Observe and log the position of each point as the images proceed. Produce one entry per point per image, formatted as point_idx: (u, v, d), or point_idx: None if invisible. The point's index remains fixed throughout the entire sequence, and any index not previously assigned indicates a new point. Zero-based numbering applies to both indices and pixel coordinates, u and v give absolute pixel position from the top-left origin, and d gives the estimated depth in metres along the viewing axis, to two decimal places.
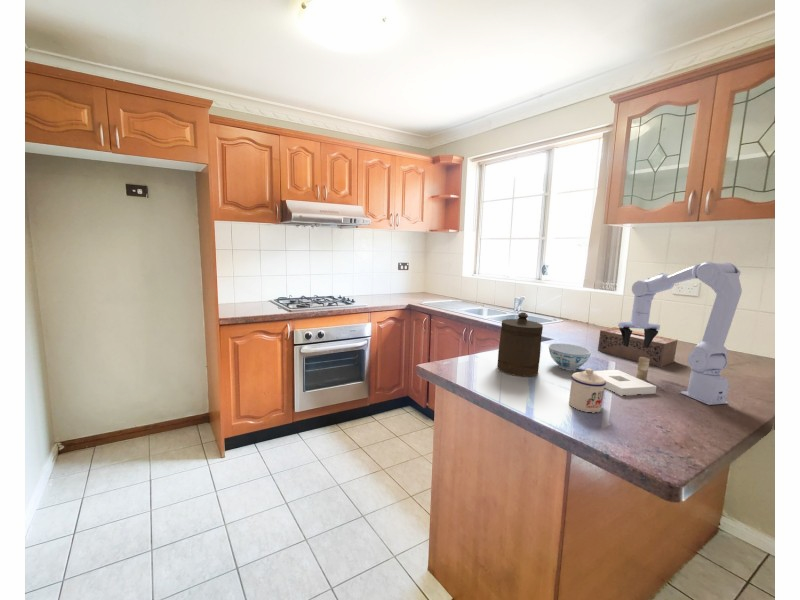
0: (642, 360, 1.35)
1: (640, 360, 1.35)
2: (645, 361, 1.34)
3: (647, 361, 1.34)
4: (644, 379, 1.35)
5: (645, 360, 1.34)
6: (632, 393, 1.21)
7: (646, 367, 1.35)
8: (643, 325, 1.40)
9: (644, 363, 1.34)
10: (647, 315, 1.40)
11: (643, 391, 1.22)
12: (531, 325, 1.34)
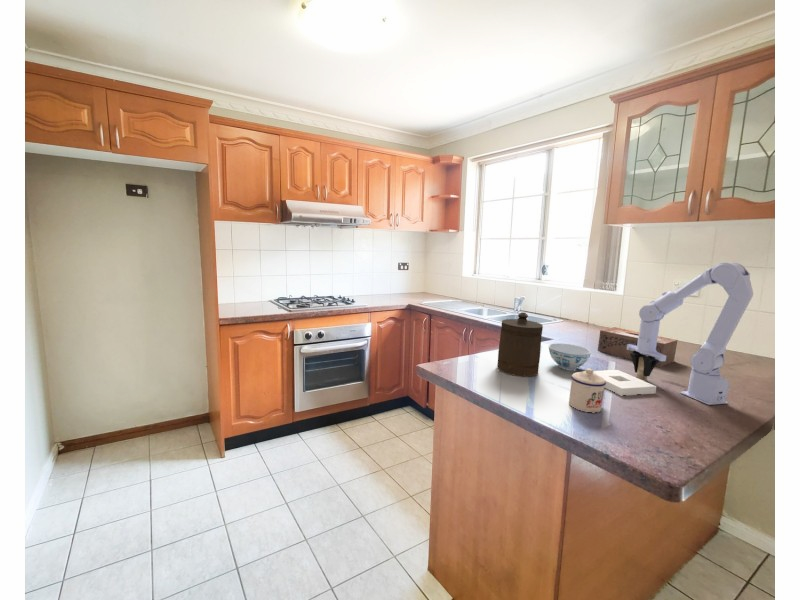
0: (642, 360, 1.35)
1: (640, 360, 1.35)
2: None
3: None
4: (644, 379, 1.35)
5: None
6: (632, 393, 1.21)
7: None
8: (638, 350, 1.35)
9: None
10: (643, 340, 1.33)
11: (643, 391, 1.22)
12: (531, 325, 1.34)
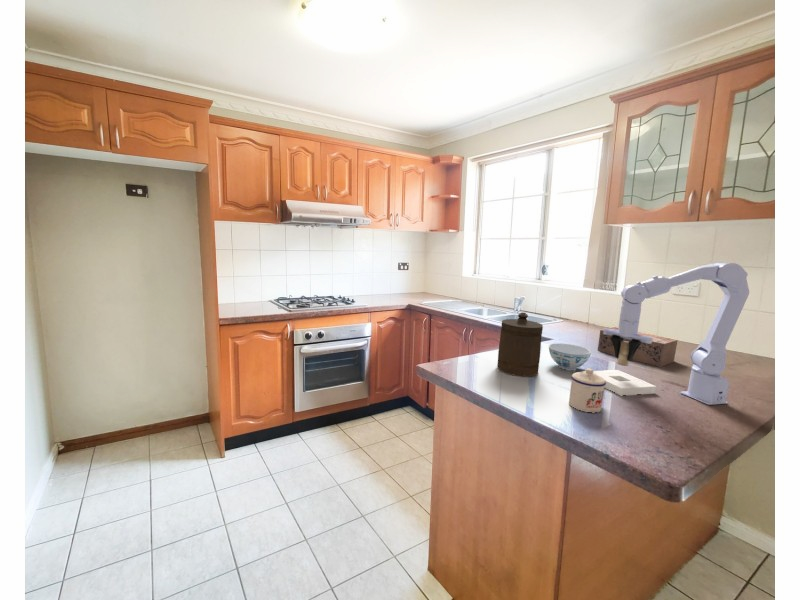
0: (626, 344, 1.26)
1: (624, 344, 1.27)
2: None
3: None
4: (627, 364, 1.28)
5: None
6: (632, 393, 1.21)
7: None
8: (623, 334, 1.25)
9: (628, 347, 1.26)
10: (629, 323, 1.24)
11: (643, 391, 1.22)
12: (531, 325, 1.34)
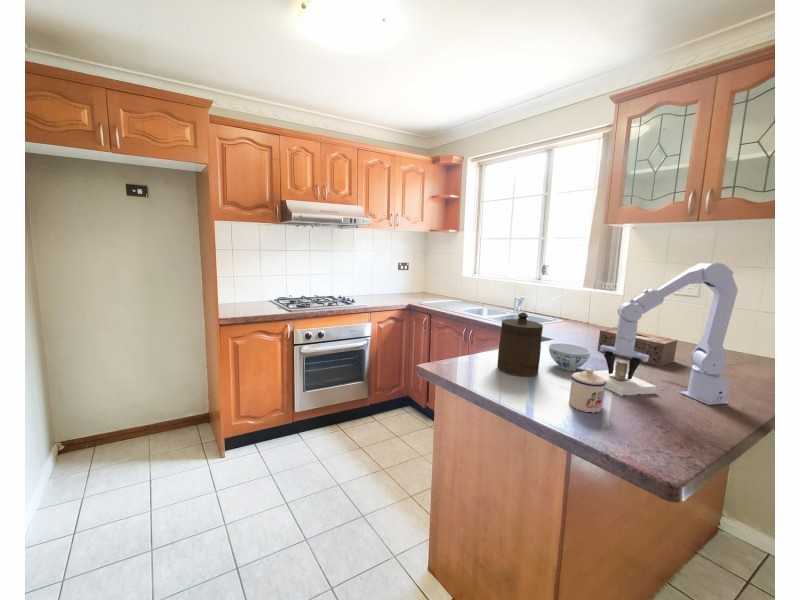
0: (622, 365, 1.27)
1: (620, 365, 1.27)
2: (625, 366, 1.27)
3: (626, 365, 1.27)
4: None
5: (625, 364, 1.27)
6: (632, 393, 1.21)
7: (625, 372, 1.28)
8: (620, 352, 1.26)
9: (624, 368, 1.27)
10: (625, 341, 1.25)
11: (643, 391, 1.22)
12: (531, 325, 1.34)
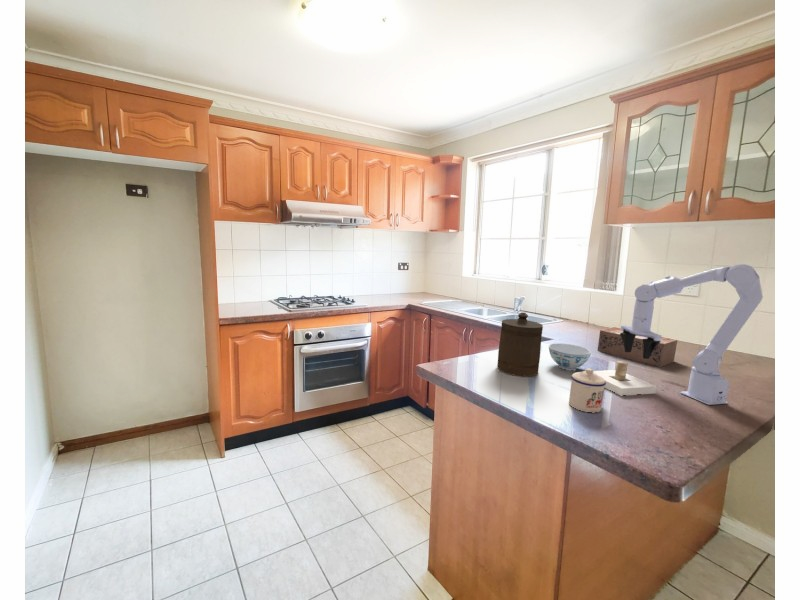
0: (622, 365, 1.27)
1: (620, 365, 1.27)
2: (625, 366, 1.27)
3: (626, 365, 1.27)
4: None
5: (625, 365, 1.27)
6: (632, 393, 1.21)
7: (625, 372, 1.27)
8: (633, 330, 1.32)
9: (624, 368, 1.27)
10: (638, 320, 1.31)
11: (643, 391, 1.22)
12: (531, 325, 1.34)
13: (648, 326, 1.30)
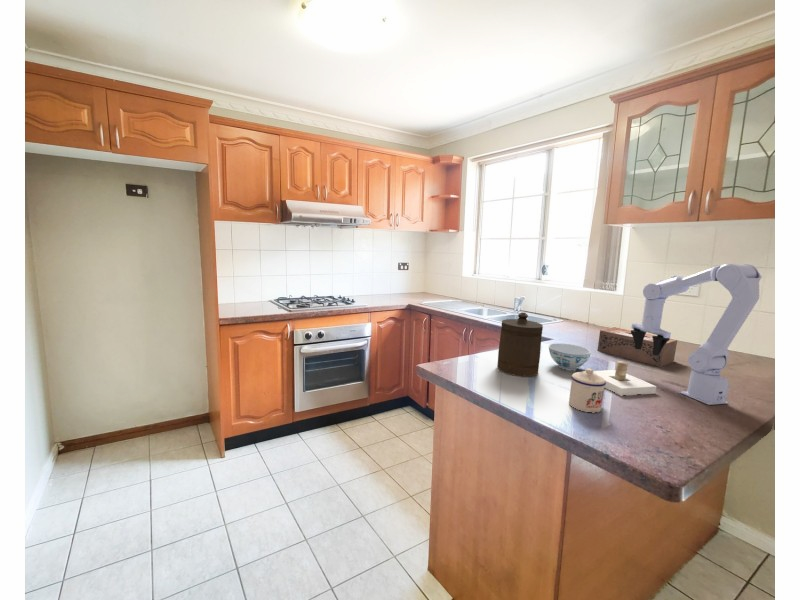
0: (622, 365, 1.27)
1: (620, 365, 1.27)
2: (625, 366, 1.27)
3: (626, 365, 1.27)
4: None
5: (625, 365, 1.27)
6: (632, 393, 1.21)
7: (625, 372, 1.28)
8: (643, 328, 1.37)
9: (624, 368, 1.27)
10: (648, 318, 1.36)
11: (643, 391, 1.22)
12: (531, 325, 1.34)
13: (658, 324, 1.35)
